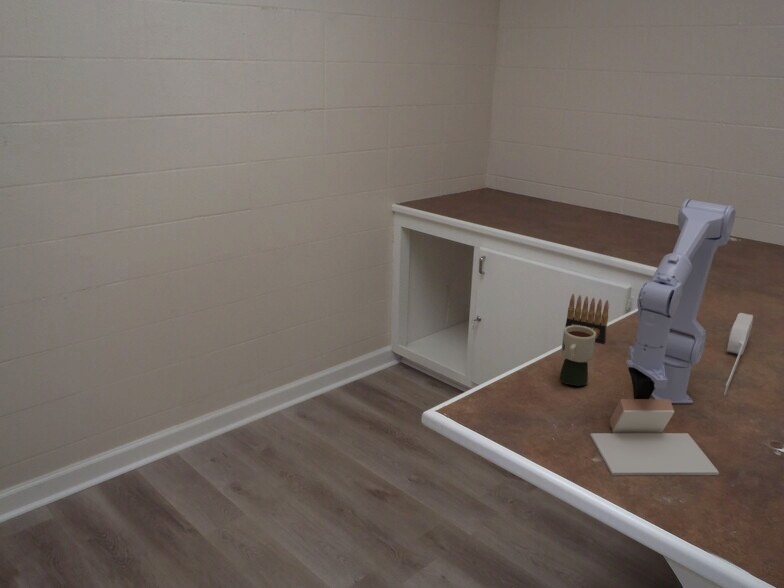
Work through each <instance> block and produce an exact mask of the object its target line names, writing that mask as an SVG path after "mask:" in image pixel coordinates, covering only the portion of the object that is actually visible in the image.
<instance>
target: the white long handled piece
mask: <svg viewBox="0 0 784 588" xmlns="http://www.w3.org/2000/svg"><path fill="white" fill-rule="evenodd" d="M753 322H754V315H753V314H747V313H744V312H739V313H737V316H736V318H735V321H734V322H733V325H732V326H731V329H730V331H729V335H728V336H729V338H728V343H727V348H726V349H727V352H728V353H732V354H736V355H737V357H736V360H735V361H734V362H735V363H734V365H733V367H732V370H731V373H730V375H729V377H728V380H727V381H726V385H725V389H724V393H723V396H724V397H725V396H726V394H727V392H728V389H729V387H730V384H731V381H732V379H733V378H734V377H733V376H734V373H735V370H736V369H737V366H738V363H739V360H740V358H741V356H743V354H744V351H745V349H746V347H747V344H748V340H749V337H750V334H751V331H752V327H753Z"/></svg>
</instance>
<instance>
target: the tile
mask: <svg viewBox="0 0 784 588" xmlns="http://www.w3.org/2000/svg"><path fill="white" fill-rule="evenodd" d="M674 414H675V409H674V406H673V403H671V401H670V399H654V398H649V399H634V398H620V399H619V401H618V403H617V405H616V407H615V409H614V411H613V413H612V415H611V417H610V419H609V425H610V428H611V429H610V430H612V431H611V432H612V433H663V431H664V430H665V428H666V426H667V425H668V423H669V422H670V420H671V418H672V417H673V415H674Z"/></svg>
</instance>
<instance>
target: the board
mask: <svg viewBox="0 0 784 588" xmlns="http://www.w3.org/2000/svg"><path fill="white" fill-rule="evenodd" d="M589 435H590V438H591V440H592V442H593V443H594V445H595V447H596V449H597V450H598V452H599V454H600V456H601V458H602V460H603V461H604V463H605V466H606V467H607V468H608V470H609V472H610V474H611V476H719V475H720V472H719V470H718V469H717V468H716V467H715V465H714V464H713V463H712V462H711V460H710V459H709V458H708V456H707V455H706V454H705V453H704V452H703V450H702V449H701V447H699V445H698V444H697V443H696V441H694V439H693V438H692V437H691V436H690V434H689V433H687V432H685V433H684V432H682V433H680V432H679V433H678V432H677V433H676V432H675V433H674V432H673V433H671V432H670V433H669V432H667V433H666V432H665V433H664V432H662V433H613V432H612V433H608V432H604V433H601V432H600V433H599V432H597V433H596V432H595V433H594V432H593V433H590V434H589Z"/></svg>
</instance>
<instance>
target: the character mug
mask: <svg viewBox="0 0 784 588" xmlns="http://www.w3.org/2000/svg"><path fill="white" fill-rule="evenodd" d="M595 337H596V332H595V331H594V330H592V329H591V328H588V327H585V326H580V325H579V326H576V325H572V326H568V327H564V329H563V334H562V344H561V349H560V350H561V351H560V353H561V355H562V356H563V357H564V358H565V359H564V360H563V362H562V363H563V364H562V366H561V370H560V374H559V380H560V382H562V383H563V384H566V385H571V386H580V387H581V386H584V385H587V383H588V379H589V378H588V377H589V376H588V375H589V373H588V371H589V369H588V368H589V367H588V365H589V363H588V362H590V361H592V360H593V356H594V350H595V343H596V342H595Z"/></svg>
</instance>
